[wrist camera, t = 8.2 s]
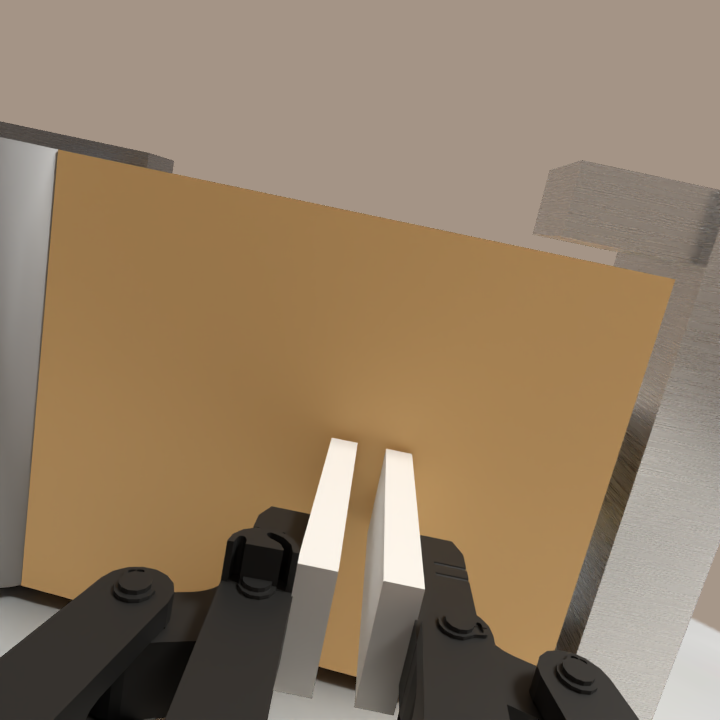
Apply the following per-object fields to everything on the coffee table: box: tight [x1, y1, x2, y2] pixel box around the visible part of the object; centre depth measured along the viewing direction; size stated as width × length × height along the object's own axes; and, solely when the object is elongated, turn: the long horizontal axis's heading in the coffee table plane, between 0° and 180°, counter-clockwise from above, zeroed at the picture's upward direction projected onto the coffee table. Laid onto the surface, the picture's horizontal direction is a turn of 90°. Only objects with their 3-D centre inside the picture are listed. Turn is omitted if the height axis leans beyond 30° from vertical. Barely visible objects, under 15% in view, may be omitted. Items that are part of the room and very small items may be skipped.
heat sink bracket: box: [0, 122, 720, 720], centre depth 21 cm, size 24×8×17 cm, turn 89°
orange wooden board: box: [0, 137, 675, 677], centre depth 18 cm, size 19×2×14 cm, turn 83°
